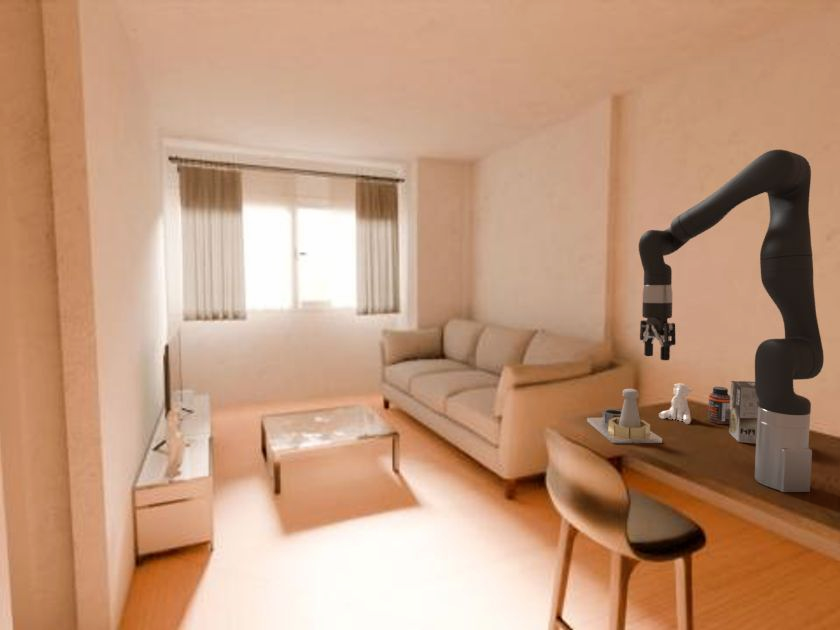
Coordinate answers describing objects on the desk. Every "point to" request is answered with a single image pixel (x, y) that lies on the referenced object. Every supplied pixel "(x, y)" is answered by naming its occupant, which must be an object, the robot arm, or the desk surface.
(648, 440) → the fitting plate
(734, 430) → the coffee box
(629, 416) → the salt shaker
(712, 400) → the supplement bottle
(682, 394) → the sitting furry creature
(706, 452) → the desk surface
